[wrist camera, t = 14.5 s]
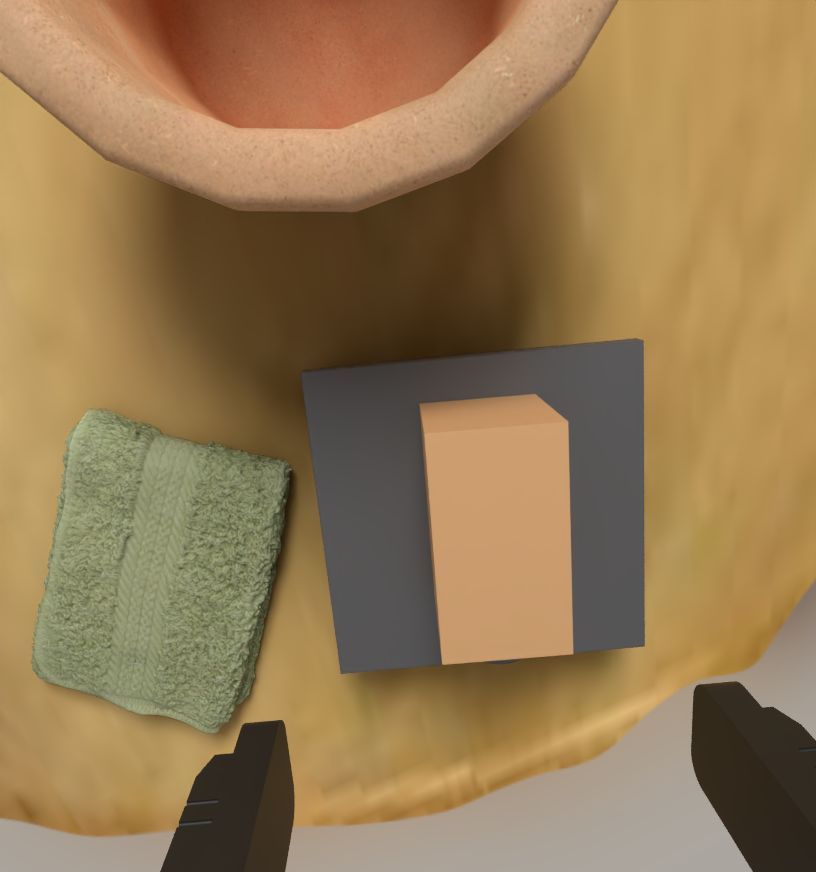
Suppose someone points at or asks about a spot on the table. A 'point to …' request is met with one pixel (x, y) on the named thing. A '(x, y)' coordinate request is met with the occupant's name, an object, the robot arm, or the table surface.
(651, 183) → the table surface
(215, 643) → the washcloth
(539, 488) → the block
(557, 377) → the stand
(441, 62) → the pottery
